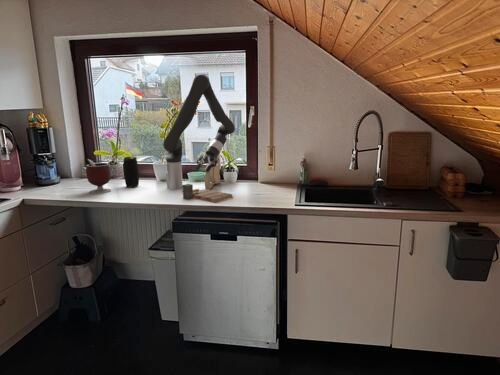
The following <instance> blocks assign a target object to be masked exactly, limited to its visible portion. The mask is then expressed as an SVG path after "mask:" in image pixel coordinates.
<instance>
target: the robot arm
mask: <svg viewBox="0 0 500 375" xmlns="http://www.w3.org/2000/svg"><path fill="white" fill-rule="evenodd" d="M190 86H191V87H190V89H189V92H188V94H187V96H186V97H185V99H184V101H183V102H182V104H181V106H180V109H179V110H178V113H177V114H176V117H175V120H173V123H172V126H171V128H170V130H169V131H168V133H167V135H166V136H165V138H164V140H163V142H162V144H163V148H164V150H165V151H167V152H168V155H167V157H166V159H165V160H166V188H167V189H168V190H171V191H172V190H174V191H175V190H181V189H182V190H183V187H182V185H184V183H183V167H182V166H183V165H182V157H183V142H182V140H181V136H182V133H183V132H184V131H185V130H186V129H187V128H188V127H189V125H190V124H191V123H192V121H193V118H194V117H195V115H196V112H197V110H198V107H199V102H200V100H201V98H202V97H204V99H205V100H206V103H207V105H208V107H209V110H210V111H211V112H210V113H211V114H212V115H213V118H214V119H215V121H216V122H217V123H221V125H220V126H219V128H218V129H217V132H216V135H215V137H214V138H213V140H212V142H211V143H210V144H209V146H208V147H207V148H206V150H205V155H202V154H201V155H199V157H198V159H197V160H196V161H195V163H196V164H197V165H196V167H195V171H197V172H198V171H199V170H200V168H201V167H202V166H203V165H206V164H208V167H207V168H206V167H205V169H206V172H209V171H210V169H211V168H212V167H215V166H216V164H218V163H219V160H220V158H219V155H220V153H221V151H223V147H224V146H225V144H226V143H227V136H228V135H231V134H234V132H235V129H236V127H235V124H234V122H233V121H232V120H231V119H230V118H229V116H228V115H227V114H226V112H225V110H224V108H223V107H222V105H221V103H220V102H219V99H218V97H217V96H216V94H215V92H214V90H213V87H212V85H211V82H210V78H209V77H208V75H207V74H205V73H199V74H197V75H195V77H194V78H193V81H192V84H191V85H190ZM183 134H184V133H183ZM206 172H205V173H206Z"/></svg>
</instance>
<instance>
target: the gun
mask: <svg viewBox="0 0 500 375" xmlns="http://www.w3.org/2000/svg"><path fill="white" fill-rule="evenodd" d="M208 165H209V164H208ZM208 165H206V166H205V169H204V172H205V176H204V187H205V188H204V189H206V190H211V189H212V186H214V185H217V184H220V183H221V181H220V163H217V164H216V166H215V167H212V168H211V169H210V171H209V172H206V168H207V167H208Z"/></svg>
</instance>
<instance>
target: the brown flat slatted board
mask: <svg viewBox="0 0 500 375" xmlns="http://www.w3.org/2000/svg"><path fill="white" fill-rule="evenodd" d="M193 199H196V200H201V201H206V202H211V203H218V202H222V201H225V200H229V199H233V194H232V193H229V192H228V193H227V192H222V191H217V190H212V189H210V190H207V189H205V188H204V189H201V190H200V189H199V191H198V193H197V192H194V193H193Z"/></svg>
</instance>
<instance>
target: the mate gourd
mask: <svg viewBox="0 0 500 375" xmlns="http://www.w3.org/2000/svg"><path fill="white" fill-rule="evenodd" d="M87 161H88V162H89V164H86V165H85V175H86V178H87V182H88V183H90V184H91V185H92V186H95V187H96V188H95V189H91V190H90V191H89V193H90V194H92V195H100V194H108V193H111V192H112V189H110V188H104V185H106V184H108V183H109V182H110V180H111V177H112V176H111V166H110V164H109V163H108V162H107V163H106V162H98V163H97V162H94V161H93V160H91V159H89V158H87Z"/></svg>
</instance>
